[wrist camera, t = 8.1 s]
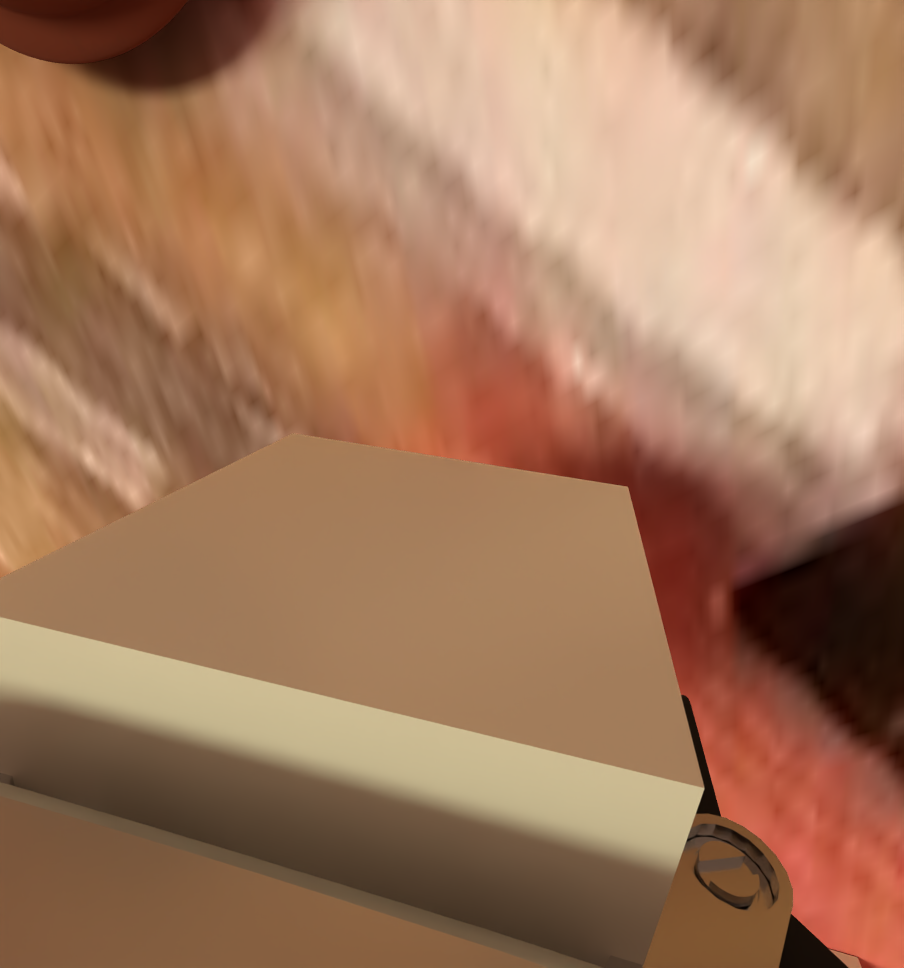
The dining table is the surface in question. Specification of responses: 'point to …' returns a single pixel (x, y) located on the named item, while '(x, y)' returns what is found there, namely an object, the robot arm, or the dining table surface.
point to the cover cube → (372, 686)
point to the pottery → (82, 27)
